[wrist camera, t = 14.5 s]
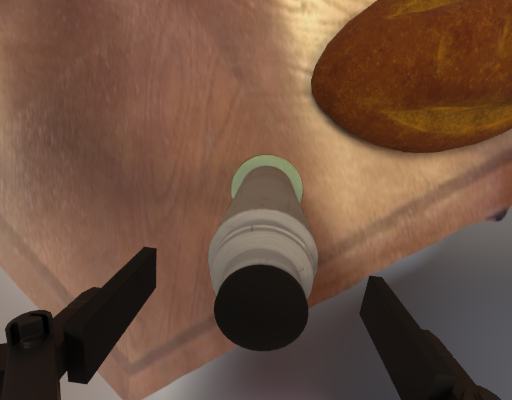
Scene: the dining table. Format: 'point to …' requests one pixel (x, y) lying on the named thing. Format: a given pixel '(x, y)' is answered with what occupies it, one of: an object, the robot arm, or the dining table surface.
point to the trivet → (268, 161)
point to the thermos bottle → (263, 263)
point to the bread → (421, 73)
